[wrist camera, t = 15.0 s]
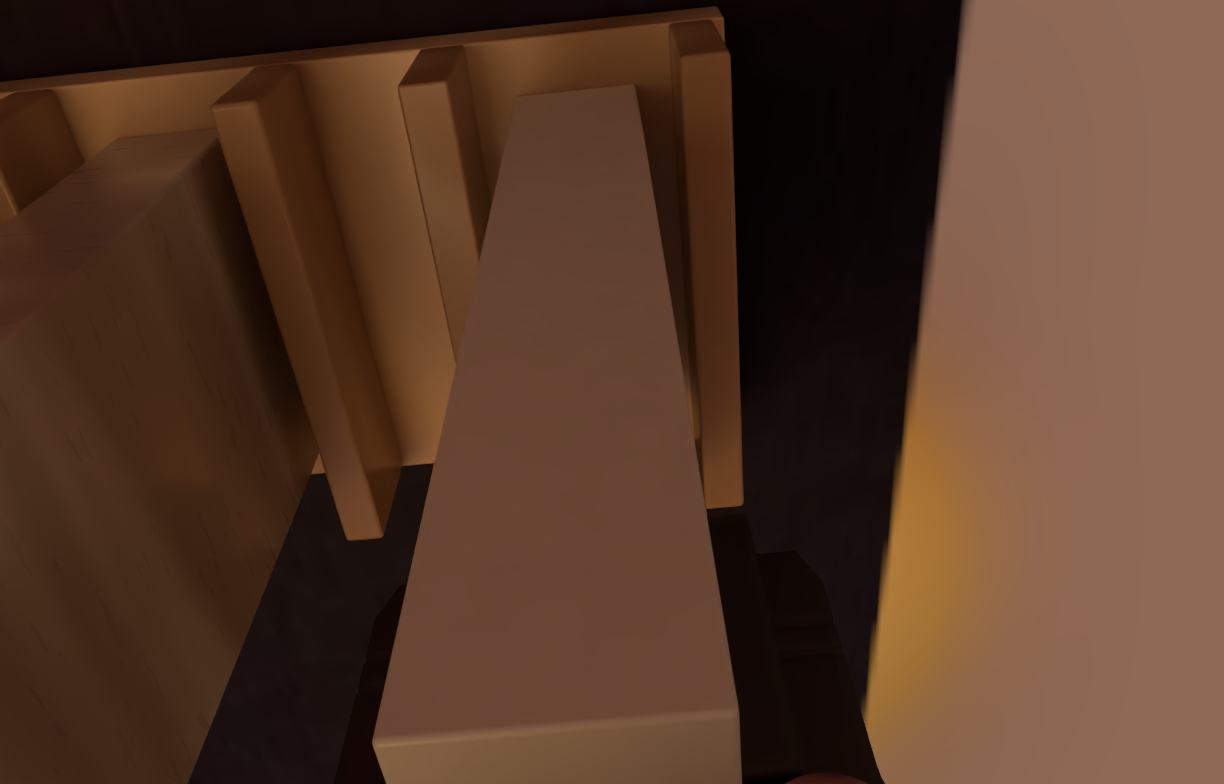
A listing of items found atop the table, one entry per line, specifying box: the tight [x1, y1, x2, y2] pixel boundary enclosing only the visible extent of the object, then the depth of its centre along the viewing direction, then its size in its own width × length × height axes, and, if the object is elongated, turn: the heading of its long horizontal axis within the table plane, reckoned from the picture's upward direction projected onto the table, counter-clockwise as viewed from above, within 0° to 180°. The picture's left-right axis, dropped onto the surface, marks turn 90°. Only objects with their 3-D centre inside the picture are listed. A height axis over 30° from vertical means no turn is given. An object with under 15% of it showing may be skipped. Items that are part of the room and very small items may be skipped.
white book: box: [372, 84, 742, 784], centre depth 13 cm, size 2×7×14 cm, turn 6°
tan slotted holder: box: [0, 6, 744, 784], centre depth 14 cm, size 17×9×15 cm, turn 95°
